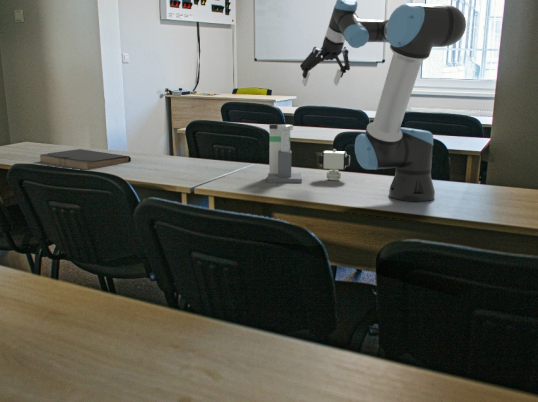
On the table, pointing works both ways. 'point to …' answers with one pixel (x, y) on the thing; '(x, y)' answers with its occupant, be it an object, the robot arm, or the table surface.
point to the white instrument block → (283, 135)
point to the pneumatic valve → (334, 162)
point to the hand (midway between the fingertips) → (319, 83)
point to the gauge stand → (280, 161)
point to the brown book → (84, 159)
